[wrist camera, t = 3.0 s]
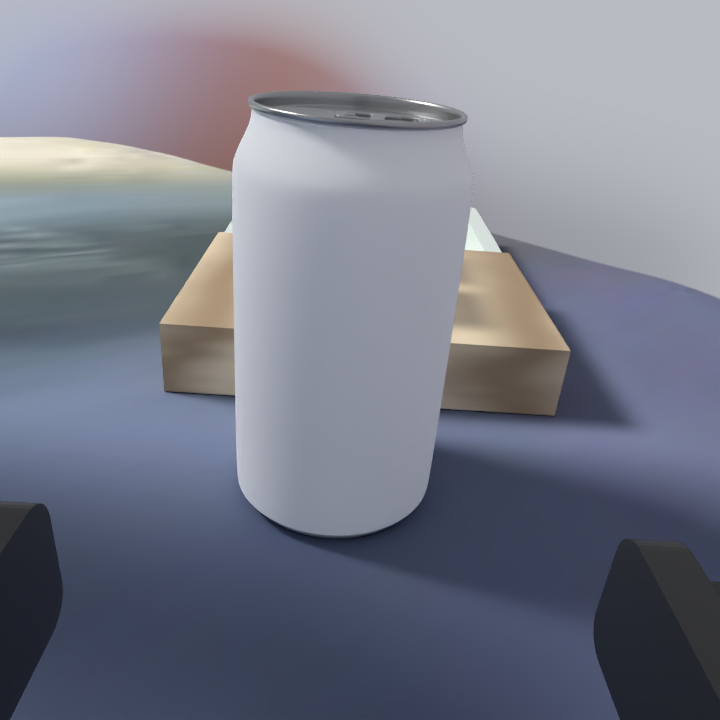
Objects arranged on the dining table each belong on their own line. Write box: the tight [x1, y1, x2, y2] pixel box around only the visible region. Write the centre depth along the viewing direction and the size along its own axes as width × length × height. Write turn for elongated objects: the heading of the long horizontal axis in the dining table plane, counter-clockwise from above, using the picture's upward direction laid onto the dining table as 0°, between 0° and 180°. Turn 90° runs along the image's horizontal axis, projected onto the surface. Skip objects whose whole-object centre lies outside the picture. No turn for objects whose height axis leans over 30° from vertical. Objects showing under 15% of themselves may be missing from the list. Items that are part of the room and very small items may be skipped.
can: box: [232, 91, 473, 539], centre depth 20 cm, size 6×6×12 cm
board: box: [159, 232, 571, 416], centre depth 31 cm, size 16×12×3 cm
